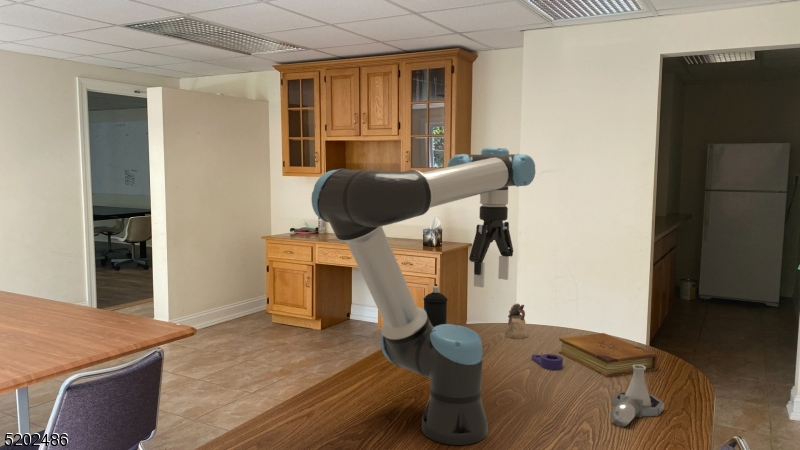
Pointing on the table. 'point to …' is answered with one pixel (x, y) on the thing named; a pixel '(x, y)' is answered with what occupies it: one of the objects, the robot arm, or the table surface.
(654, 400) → the octagonal metal scoop
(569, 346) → the diary
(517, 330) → the figurine
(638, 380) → the flask
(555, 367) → the lever
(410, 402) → the table surface
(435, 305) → the aerosol can
